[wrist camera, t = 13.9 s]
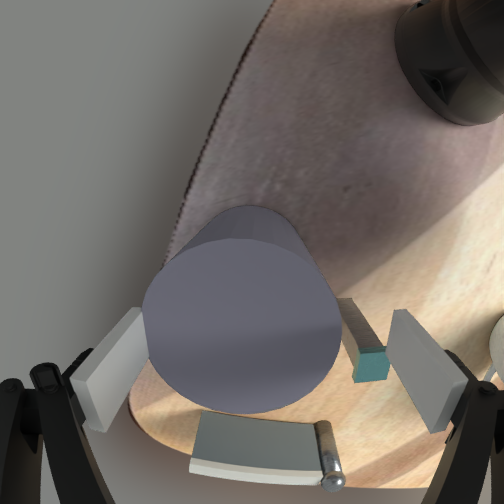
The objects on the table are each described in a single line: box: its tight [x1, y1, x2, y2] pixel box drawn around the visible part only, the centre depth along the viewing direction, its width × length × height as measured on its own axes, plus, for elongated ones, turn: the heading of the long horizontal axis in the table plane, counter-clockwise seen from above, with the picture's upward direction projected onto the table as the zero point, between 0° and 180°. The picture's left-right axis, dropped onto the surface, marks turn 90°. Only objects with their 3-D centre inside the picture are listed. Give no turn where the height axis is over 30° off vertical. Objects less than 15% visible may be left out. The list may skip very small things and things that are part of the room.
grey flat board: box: [189, 410, 323, 485], centre depth 30 cm, size 14×2×9 cm, turn 80°
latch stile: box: [336, 298, 391, 383], centre depth 25 cm, size 3×3×11 cm
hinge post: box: [314, 420, 346, 492], centre depth 29 cm, size 3×3×11 cm
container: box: [141, 206, 342, 414], centre depth 22 cm, size 10×10×15 cm
